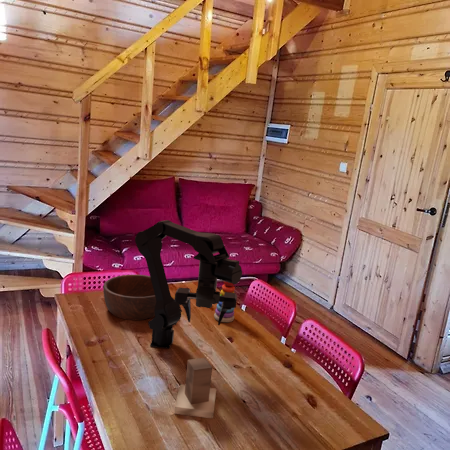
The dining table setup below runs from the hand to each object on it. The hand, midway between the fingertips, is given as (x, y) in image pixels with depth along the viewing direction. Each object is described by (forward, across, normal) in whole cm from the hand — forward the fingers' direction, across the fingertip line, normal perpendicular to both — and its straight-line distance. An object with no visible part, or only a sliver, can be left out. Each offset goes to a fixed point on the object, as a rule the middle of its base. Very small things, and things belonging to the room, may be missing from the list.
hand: (204, 323), depth 133 cm
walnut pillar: (+11, +1, -22) cm, 24 cm away
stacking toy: (+13, +6, +34) cm, 36 cm away
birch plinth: (+13, +1, -22) cm, 25 cm away
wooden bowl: (+12, -30, +32) cm, 45 cm away
